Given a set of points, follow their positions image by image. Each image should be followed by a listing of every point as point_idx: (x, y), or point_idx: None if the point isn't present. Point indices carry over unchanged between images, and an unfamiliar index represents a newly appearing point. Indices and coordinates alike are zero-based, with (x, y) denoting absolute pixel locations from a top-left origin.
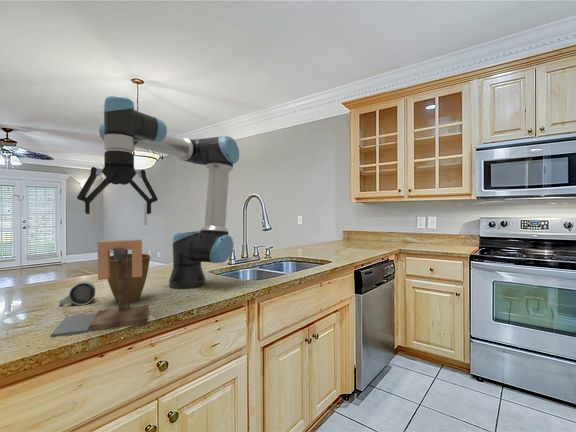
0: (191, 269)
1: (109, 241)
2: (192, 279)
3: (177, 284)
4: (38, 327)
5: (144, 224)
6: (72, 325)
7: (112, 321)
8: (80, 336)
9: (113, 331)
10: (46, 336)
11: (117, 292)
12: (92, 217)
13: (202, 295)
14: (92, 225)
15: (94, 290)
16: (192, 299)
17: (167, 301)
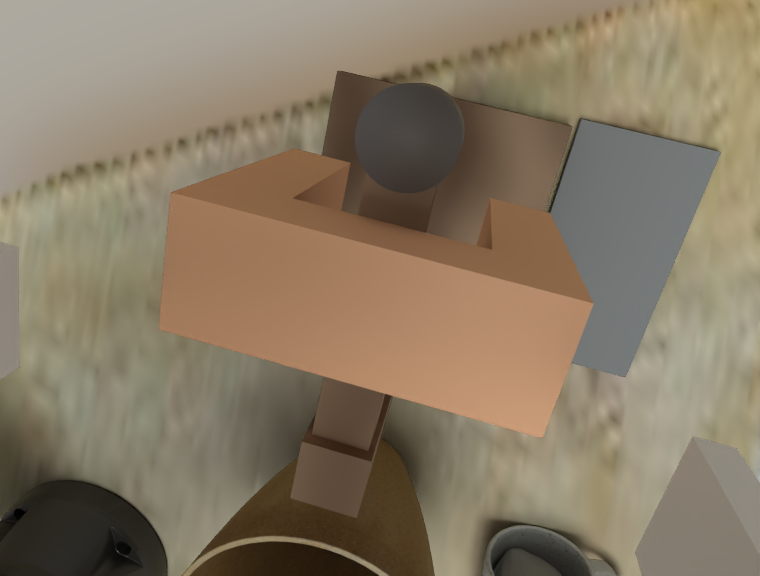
0: (16, 562)
1: (469, 315)
2: (50, 512)
3: (128, 526)
4: (736, 320)
5: (1, 250)
6: (624, 226)
7: (478, 126)
8: (613, 78)
9: (485, 56)
10: (729, 172)
11: (400, 471)
12: (756, 535)
13: (58, 339)
14: (702, 441)
15: (489, 563)
16: (108, 306)
17: (212, 347)
